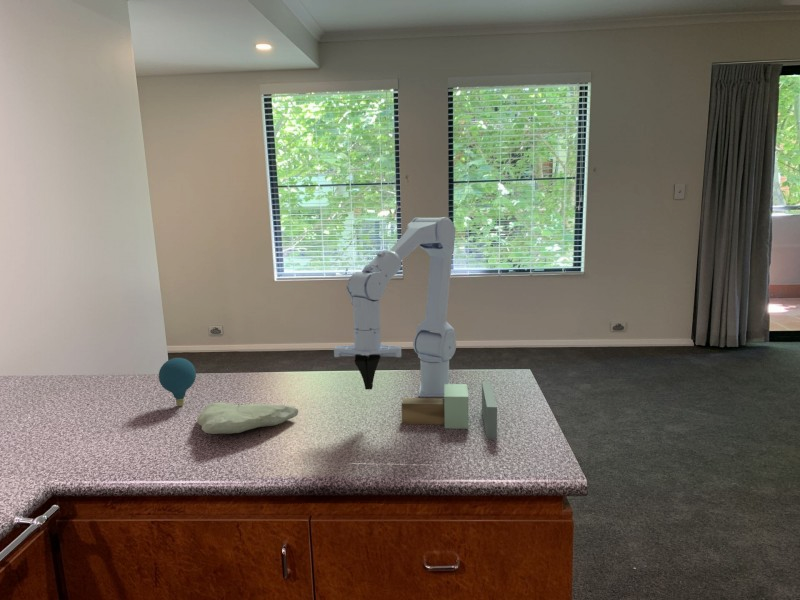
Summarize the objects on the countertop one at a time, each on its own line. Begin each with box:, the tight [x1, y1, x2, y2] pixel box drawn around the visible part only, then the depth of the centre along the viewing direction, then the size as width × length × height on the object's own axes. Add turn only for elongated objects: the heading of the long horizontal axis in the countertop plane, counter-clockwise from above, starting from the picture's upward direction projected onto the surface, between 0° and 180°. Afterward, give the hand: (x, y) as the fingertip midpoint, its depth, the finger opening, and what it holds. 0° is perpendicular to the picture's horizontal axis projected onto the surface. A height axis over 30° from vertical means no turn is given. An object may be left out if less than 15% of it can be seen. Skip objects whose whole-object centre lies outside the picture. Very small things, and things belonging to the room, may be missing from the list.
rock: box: [196, 401, 299, 435], centre depth 116 cm, size 24×6×20 cm
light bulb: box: [158, 357, 197, 407], centre depth 130 cm, size 8×8×12 cm
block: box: [443, 383, 469, 430], centre depth 117 cm, size 8×5×7 cm, turn 175°
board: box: [481, 380, 498, 440], centre depth 115 cm, size 16×2×7 cm, turn 175°
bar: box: [401, 397, 445, 425], centre depth 118 cm, size 4×12×5 cm, turn 84°
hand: (368, 388), depth 118 cm, fingers closed
